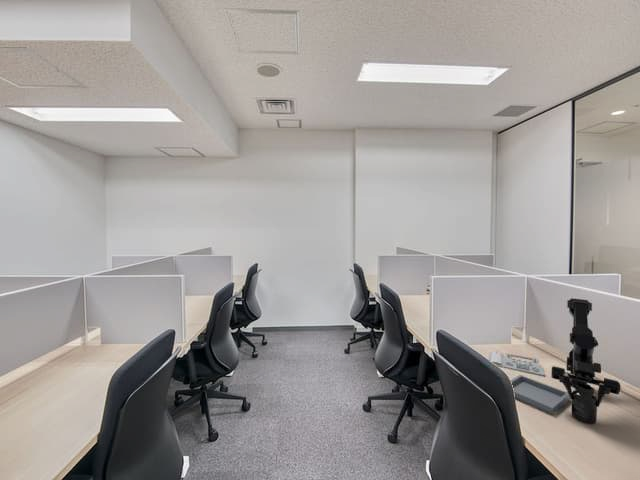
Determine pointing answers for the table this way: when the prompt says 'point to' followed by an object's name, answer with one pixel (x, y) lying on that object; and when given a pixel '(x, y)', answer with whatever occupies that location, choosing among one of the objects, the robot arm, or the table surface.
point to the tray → (539, 394)
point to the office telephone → (516, 363)
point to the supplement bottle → (584, 404)
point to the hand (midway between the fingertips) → (584, 402)
